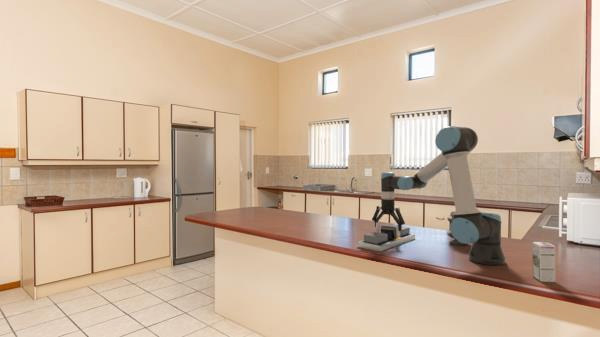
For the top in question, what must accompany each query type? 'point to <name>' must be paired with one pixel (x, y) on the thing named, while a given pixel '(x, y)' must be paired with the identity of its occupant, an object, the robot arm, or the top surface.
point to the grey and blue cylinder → (455, 242)
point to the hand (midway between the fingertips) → (387, 234)
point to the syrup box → (544, 261)
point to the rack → (385, 240)
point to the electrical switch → (389, 231)
